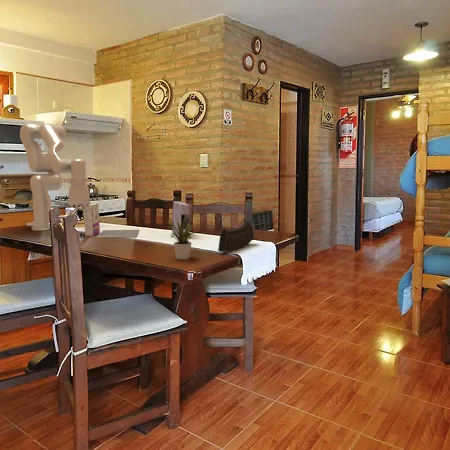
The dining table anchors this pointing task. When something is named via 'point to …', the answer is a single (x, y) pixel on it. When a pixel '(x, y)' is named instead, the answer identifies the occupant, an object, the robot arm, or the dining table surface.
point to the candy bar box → (91, 219)
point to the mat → (118, 234)
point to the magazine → (235, 238)
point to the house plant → (182, 241)
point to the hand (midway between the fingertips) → (80, 217)
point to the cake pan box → (180, 215)
